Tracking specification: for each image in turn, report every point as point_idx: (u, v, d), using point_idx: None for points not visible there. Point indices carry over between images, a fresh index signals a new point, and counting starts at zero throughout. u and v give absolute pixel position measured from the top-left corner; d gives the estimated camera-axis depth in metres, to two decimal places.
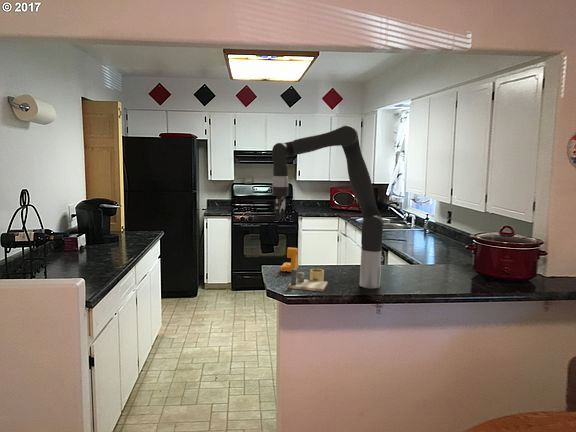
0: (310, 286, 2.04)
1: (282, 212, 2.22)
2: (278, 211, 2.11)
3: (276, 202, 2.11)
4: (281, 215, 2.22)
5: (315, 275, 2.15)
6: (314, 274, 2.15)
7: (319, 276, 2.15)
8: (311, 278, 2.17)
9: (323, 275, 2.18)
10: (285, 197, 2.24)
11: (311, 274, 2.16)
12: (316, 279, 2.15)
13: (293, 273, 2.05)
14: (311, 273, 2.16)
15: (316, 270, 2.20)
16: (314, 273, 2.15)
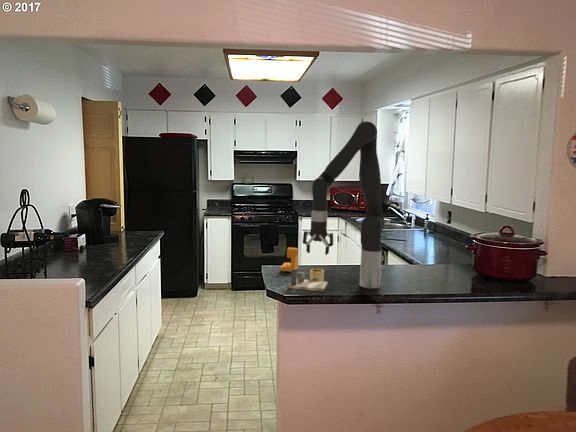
0: (310, 286, 2.04)
1: (309, 246, 2.18)
2: None
3: (332, 236, 2.14)
4: (309, 250, 2.18)
5: (315, 275, 2.15)
6: (314, 274, 2.15)
7: (319, 276, 2.15)
8: (311, 278, 2.17)
9: (323, 275, 2.18)
10: None
11: (311, 274, 2.16)
12: (316, 279, 2.15)
13: (293, 273, 2.05)
14: (311, 273, 2.16)
15: (316, 270, 2.20)
16: (314, 273, 2.15)
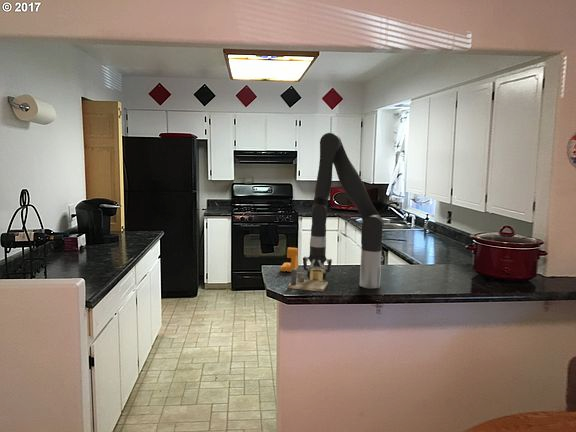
0: (310, 286, 2.04)
1: None
2: None
3: (331, 262, 2.15)
4: None
5: (315, 275, 2.15)
6: (314, 274, 2.15)
7: (319, 276, 2.15)
8: (311, 278, 2.17)
9: None
10: None
11: (311, 274, 2.16)
12: (317, 279, 2.15)
13: (293, 273, 2.05)
14: (311, 273, 2.16)
15: (316, 270, 2.20)
16: (314, 273, 2.15)
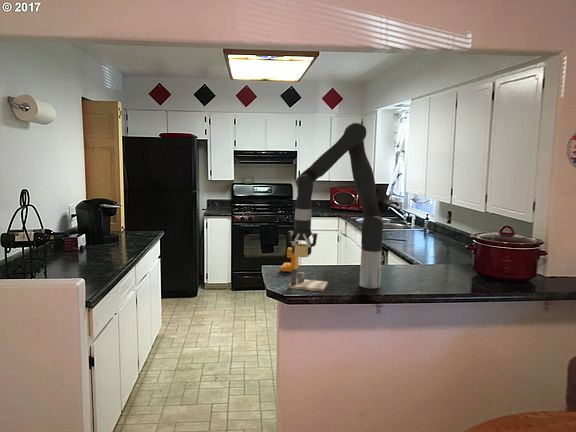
0: (310, 286, 2.04)
1: None
2: None
3: (316, 237, 2.07)
4: None
5: (300, 249, 2.07)
6: (299, 248, 2.07)
7: (304, 251, 2.07)
8: (296, 253, 2.09)
9: None
10: None
11: (296, 249, 2.09)
12: (301, 253, 2.07)
13: (293, 273, 2.05)
14: (296, 247, 2.08)
15: (301, 245, 2.12)
16: (299, 247, 2.07)
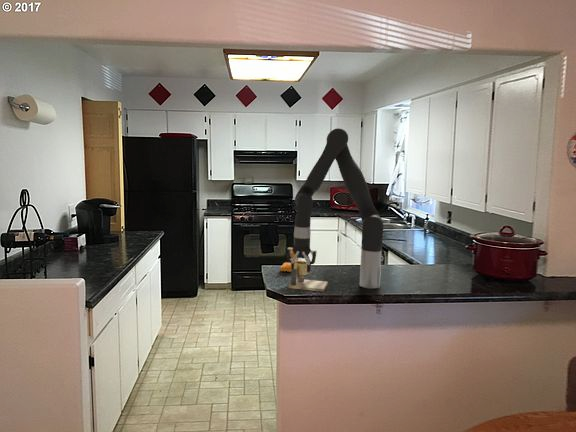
0: (310, 286, 2.04)
1: None
2: (314, 262, 2.10)
3: (315, 254, 2.08)
4: None
5: (299, 267, 2.08)
6: (298, 266, 2.08)
7: (303, 268, 2.08)
8: None
9: None
10: None
11: (295, 266, 2.10)
12: (300, 271, 2.08)
13: (293, 273, 2.05)
14: (295, 265, 2.10)
15: (300, 262, 2.14)
16: (298, 265, 2.08)
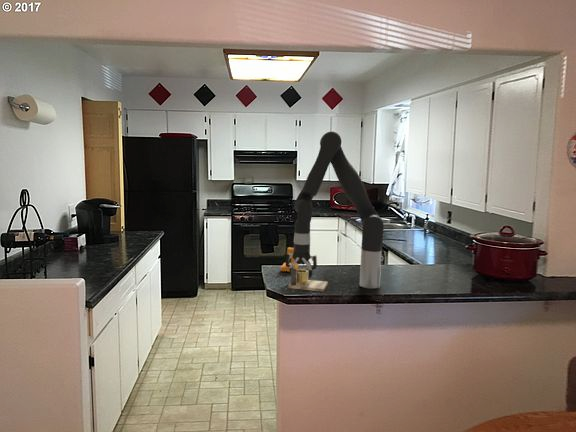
0: (310, 286, 2.04)
1: None
2: (316, 267, 2.10)
3: (316, 259, 2.09)
4: None
5: (299, 276, 2.09)
6: (298, 275, 2.09)
7: (303, 277, 2.09)
8: None
9: (307, 276, 2.12)
10: (288, 253, 2.13)
11: None
12: (301, 279, 2.09)
13: (293, 273, 2.05)
14: None
15: (300, 270, 2.14)
16: (298, 274, 2.09)
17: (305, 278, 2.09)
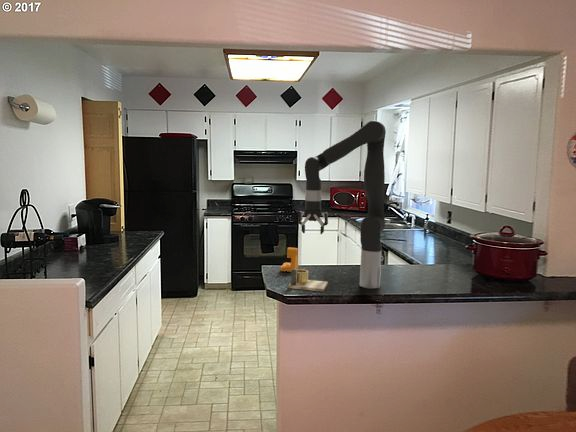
0: (310, 286, 2.04)
1: (304, 226, 2.19)
2: None
3: (327, 215, 2.16)
4: (304, 230, 2.19)
5: (299, 276, 2.09)
6: (298, 275, 2.09)
7: (303, 277, 2.09)
8: None
9: (307, 276, 2.12)
10: None
11: None
12: (301, 279, 2.09)
13: (293, 273, 2.05)
14: None
15: (300, 270, 2.14)
16: (298, 274, 2.09)
17: (305, 278, 2.09)
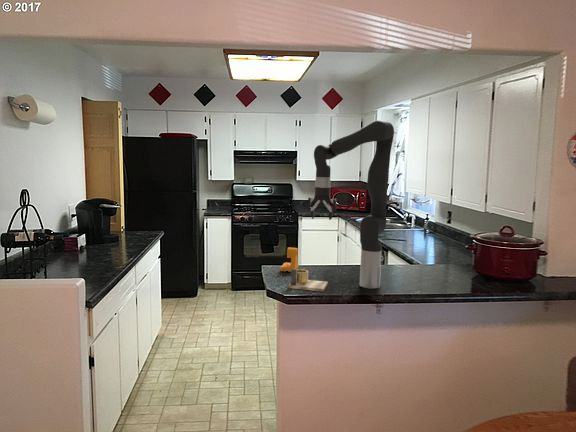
0: (310, 286, 2.04)
1: None
2: None
3: (335, 201, 2.23)
4: (313, 215, 2.27)
5: (299, 276, 2.09)
6: (298, 275, 2.09)
7: (303, 277, 2.09)
8: None
9: (307, 276, 2.12)
10: None
11: None
12: (301, 279, 2.09)
13: (293, 273, 2.05)
14: None
15: (300, 270, 2.14)
16: (298, 274, 2.09)
17: (305, 278, 2.09)
